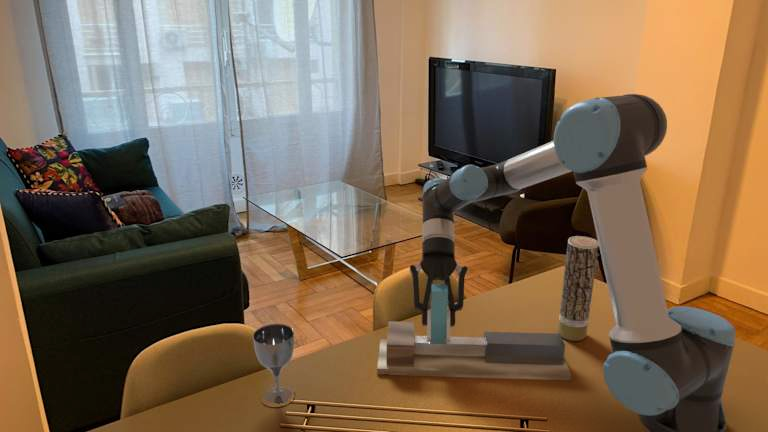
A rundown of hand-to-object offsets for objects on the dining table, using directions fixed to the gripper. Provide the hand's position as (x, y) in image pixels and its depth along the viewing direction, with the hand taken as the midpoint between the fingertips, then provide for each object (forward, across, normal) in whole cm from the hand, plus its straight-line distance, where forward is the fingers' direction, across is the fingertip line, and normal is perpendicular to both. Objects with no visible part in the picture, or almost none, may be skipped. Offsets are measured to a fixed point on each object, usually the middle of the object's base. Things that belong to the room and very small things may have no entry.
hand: (438, 340), depth 125 cm
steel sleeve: (+2, -19, -7) cm, 21 cm away
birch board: (+3, -8, -8) cm, 12 cm away
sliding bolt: (+1, -4, -6) cm, 8 cm away
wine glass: (+13, +33, +2) cm, 36 cm away
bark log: (-6, -34, -18) cm, 38 cm away
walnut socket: (+2, +8, -7) cm, 11 cm away
